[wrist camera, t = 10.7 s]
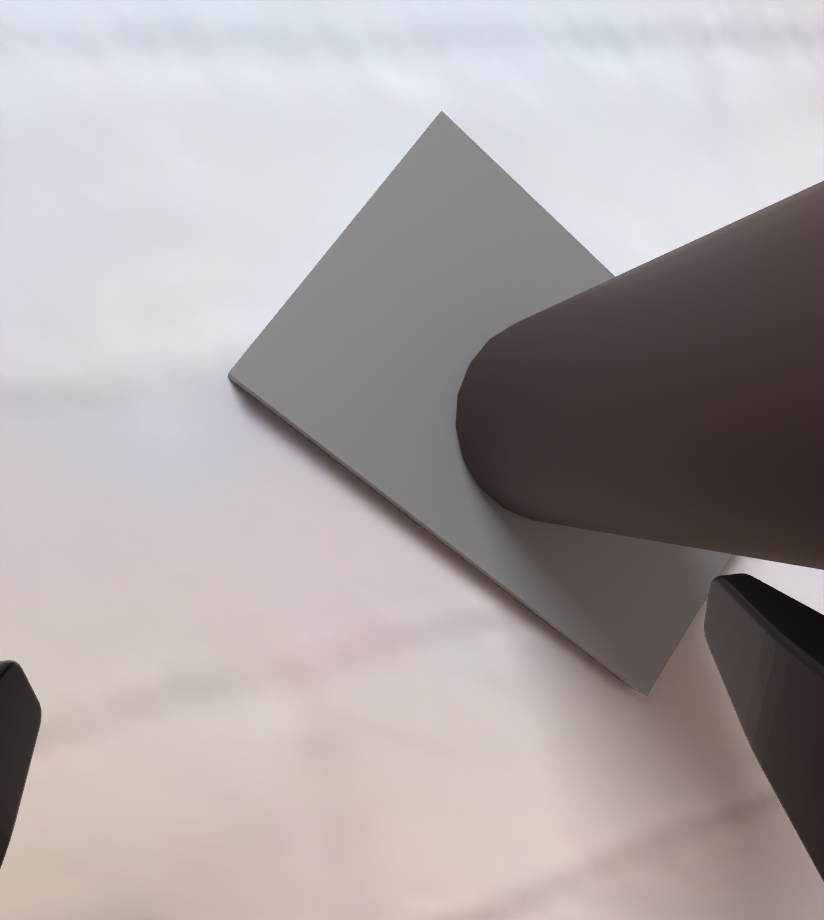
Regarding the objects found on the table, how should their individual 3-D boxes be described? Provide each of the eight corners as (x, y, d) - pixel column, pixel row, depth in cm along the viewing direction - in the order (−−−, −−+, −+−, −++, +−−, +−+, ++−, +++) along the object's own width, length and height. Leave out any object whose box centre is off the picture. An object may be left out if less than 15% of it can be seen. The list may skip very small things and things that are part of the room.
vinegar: (575, 557, 23) (2227, 971, 4) (413, 454, 22) (1911, 373, 3) (662, 390, 24) (2301, 124, 5) (513, 280, 23) (2108, -682, 4)
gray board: (630, 686, 25) (646, 695, 24) (227, 377, 21) (228, 373, 20) (775, 449, 27) (795, 449, 26) (431, 125, 23) (441, 110, 22)
